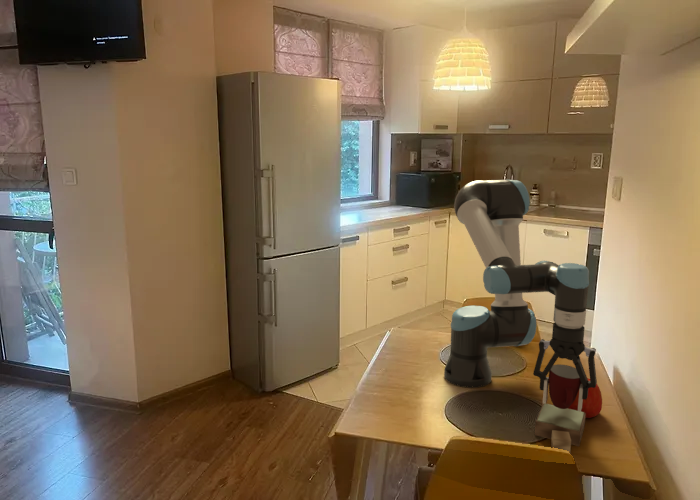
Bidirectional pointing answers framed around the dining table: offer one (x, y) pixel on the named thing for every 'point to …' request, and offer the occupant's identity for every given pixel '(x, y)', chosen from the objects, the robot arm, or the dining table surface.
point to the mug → (563, 385)
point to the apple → (589, 402)
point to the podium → (560, 422)
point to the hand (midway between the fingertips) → (562, 405)
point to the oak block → (561, 440)
